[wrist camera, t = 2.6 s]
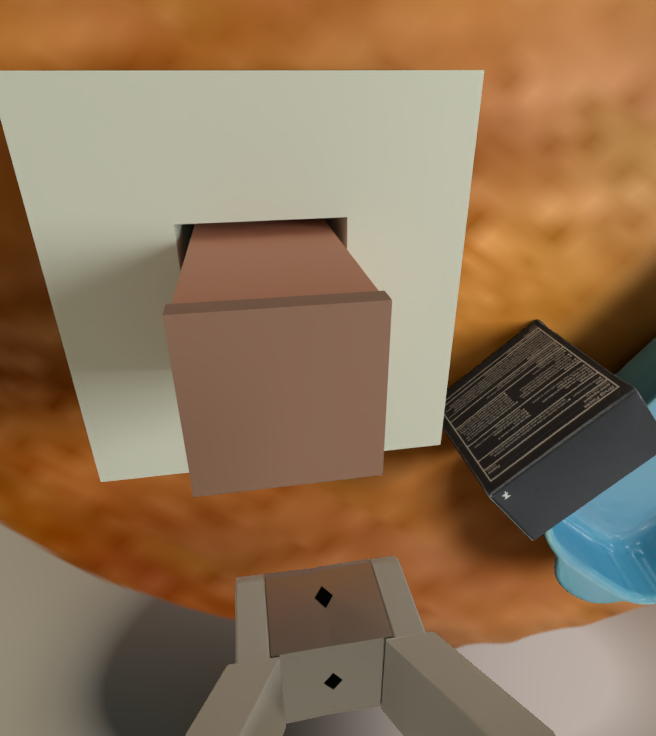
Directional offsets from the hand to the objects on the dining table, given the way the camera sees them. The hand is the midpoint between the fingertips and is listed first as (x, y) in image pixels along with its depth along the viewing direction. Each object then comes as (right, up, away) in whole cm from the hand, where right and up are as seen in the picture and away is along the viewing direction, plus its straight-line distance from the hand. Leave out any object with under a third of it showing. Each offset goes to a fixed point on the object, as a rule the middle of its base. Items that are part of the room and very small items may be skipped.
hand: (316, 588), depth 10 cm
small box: (+14, +3, +30) cm, 33 cm away
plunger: (-3, +8, +16) cm, 18 cm away
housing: (-4, +12, +22) cm, 25 cm away
